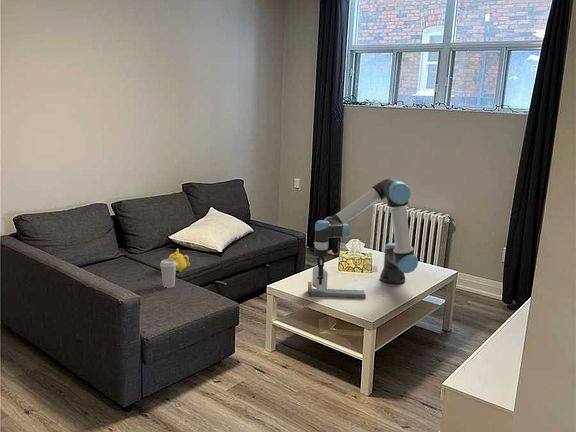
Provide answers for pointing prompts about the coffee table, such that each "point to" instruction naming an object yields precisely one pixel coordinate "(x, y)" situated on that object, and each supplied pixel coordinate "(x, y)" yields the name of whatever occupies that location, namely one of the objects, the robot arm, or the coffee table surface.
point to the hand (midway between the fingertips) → (319, 286)
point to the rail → (335, 293)
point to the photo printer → (315, 280)
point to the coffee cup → (168, 272)
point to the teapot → (179, 260)
